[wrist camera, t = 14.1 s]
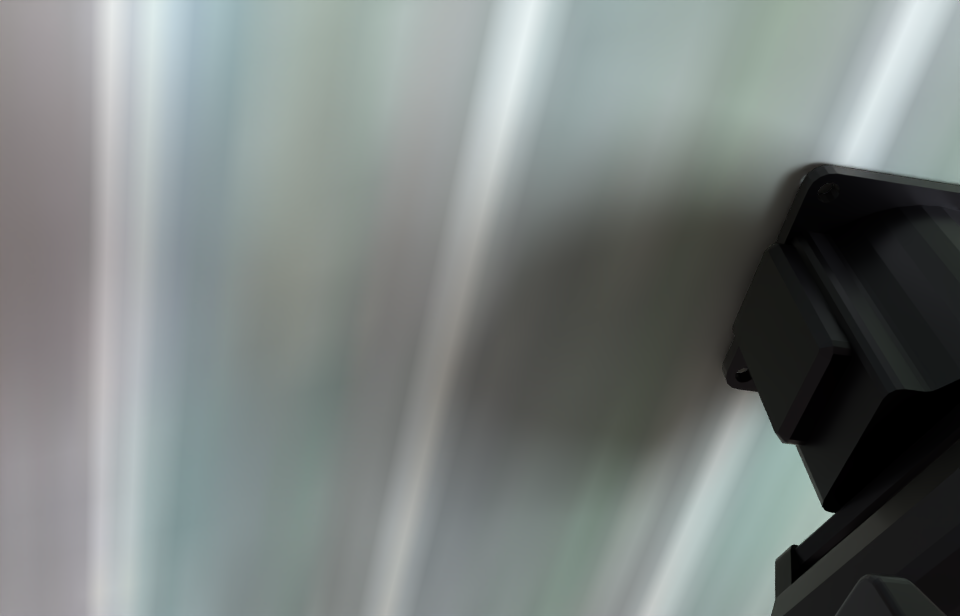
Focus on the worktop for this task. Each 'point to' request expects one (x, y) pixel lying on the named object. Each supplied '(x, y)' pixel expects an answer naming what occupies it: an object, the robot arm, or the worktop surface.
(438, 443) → the worktop surface
